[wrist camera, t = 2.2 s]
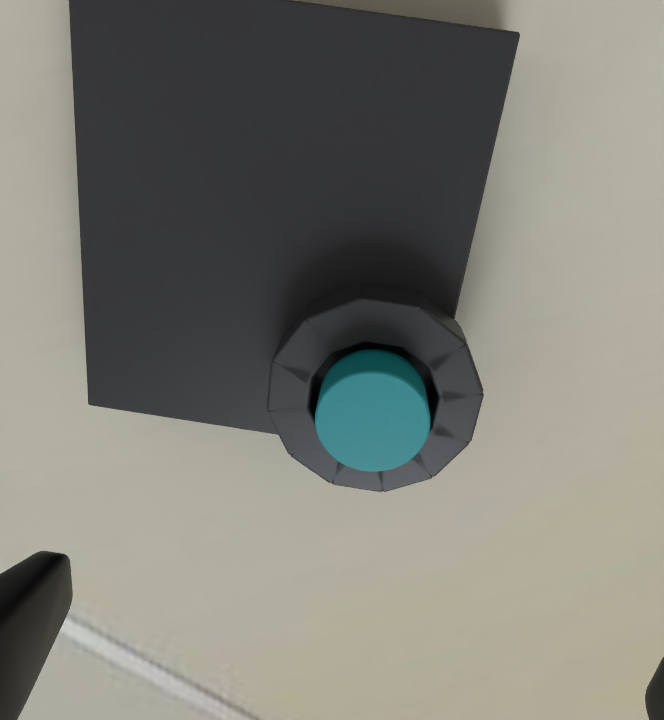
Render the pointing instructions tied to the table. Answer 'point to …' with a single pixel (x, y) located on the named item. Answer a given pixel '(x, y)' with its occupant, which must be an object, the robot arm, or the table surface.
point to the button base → (280, 209)
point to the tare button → (372, 411)
